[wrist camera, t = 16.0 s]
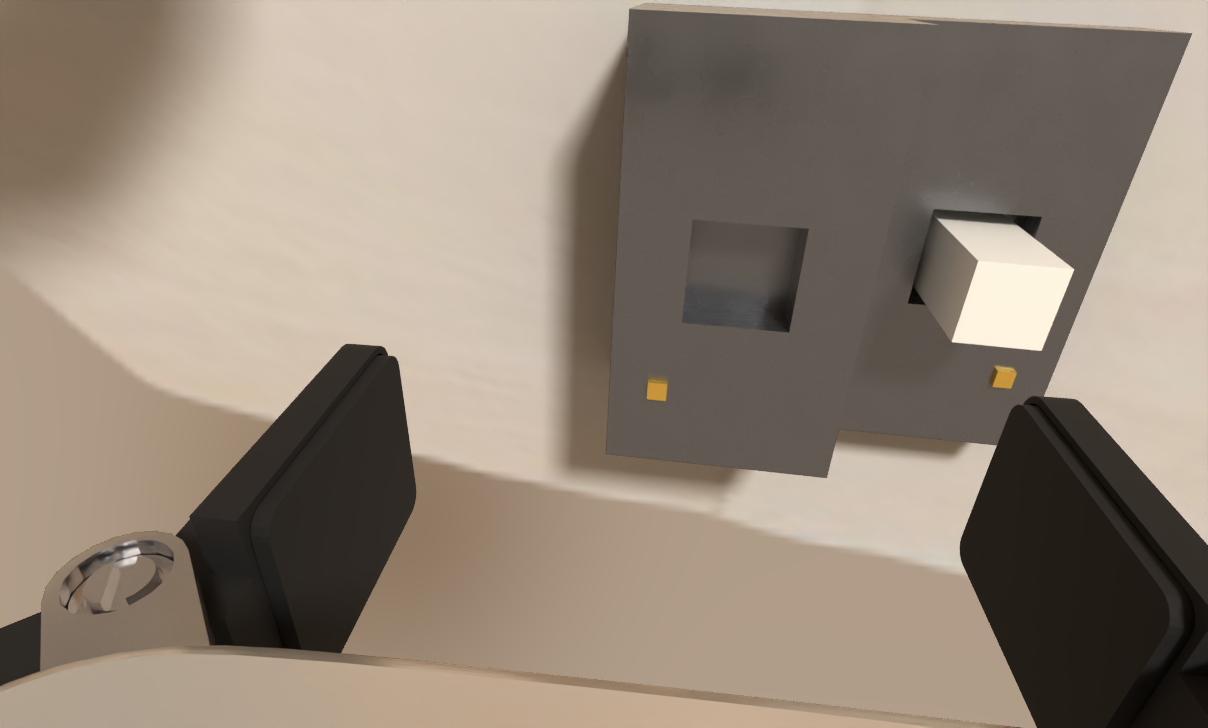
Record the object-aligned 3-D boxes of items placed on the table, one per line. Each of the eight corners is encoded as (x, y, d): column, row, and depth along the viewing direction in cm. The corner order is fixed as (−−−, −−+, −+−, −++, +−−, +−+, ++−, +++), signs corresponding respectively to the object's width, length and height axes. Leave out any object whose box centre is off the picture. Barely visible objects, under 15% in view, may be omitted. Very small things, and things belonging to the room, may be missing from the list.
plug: (927, 208, 37) (978, 260, 30) (1004, 215, 37) (1074, 269, 30) (905, 286, 40) (948, 351, 33) (978, 293, 39) (1037, 360, 32)
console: (645, 2, 36) (628, 9, 28) (1141, 28, 34) (1280, 42, 25) (622, 374, 46) (605, 457, 38) (997, 411, 44) (1063, 507, 36)
